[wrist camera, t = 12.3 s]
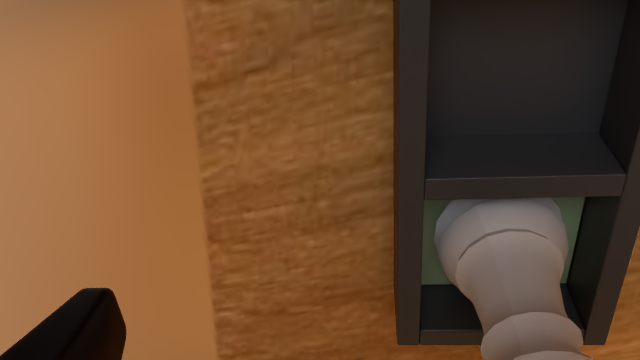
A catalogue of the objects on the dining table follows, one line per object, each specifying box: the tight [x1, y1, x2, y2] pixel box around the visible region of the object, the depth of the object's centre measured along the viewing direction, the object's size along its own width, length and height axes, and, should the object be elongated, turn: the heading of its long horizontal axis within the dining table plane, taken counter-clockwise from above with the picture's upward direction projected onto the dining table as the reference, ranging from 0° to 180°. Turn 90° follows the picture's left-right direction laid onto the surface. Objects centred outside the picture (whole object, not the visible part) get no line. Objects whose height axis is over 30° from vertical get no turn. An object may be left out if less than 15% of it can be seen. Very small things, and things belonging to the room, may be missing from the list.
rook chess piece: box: [434, 198, 594, 360], centre depth 18 cm, size 4×4×8 cm
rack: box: [394, 0, 640, 345], centre depth 17 cm, size 7×21×3 cm, turn 3°
